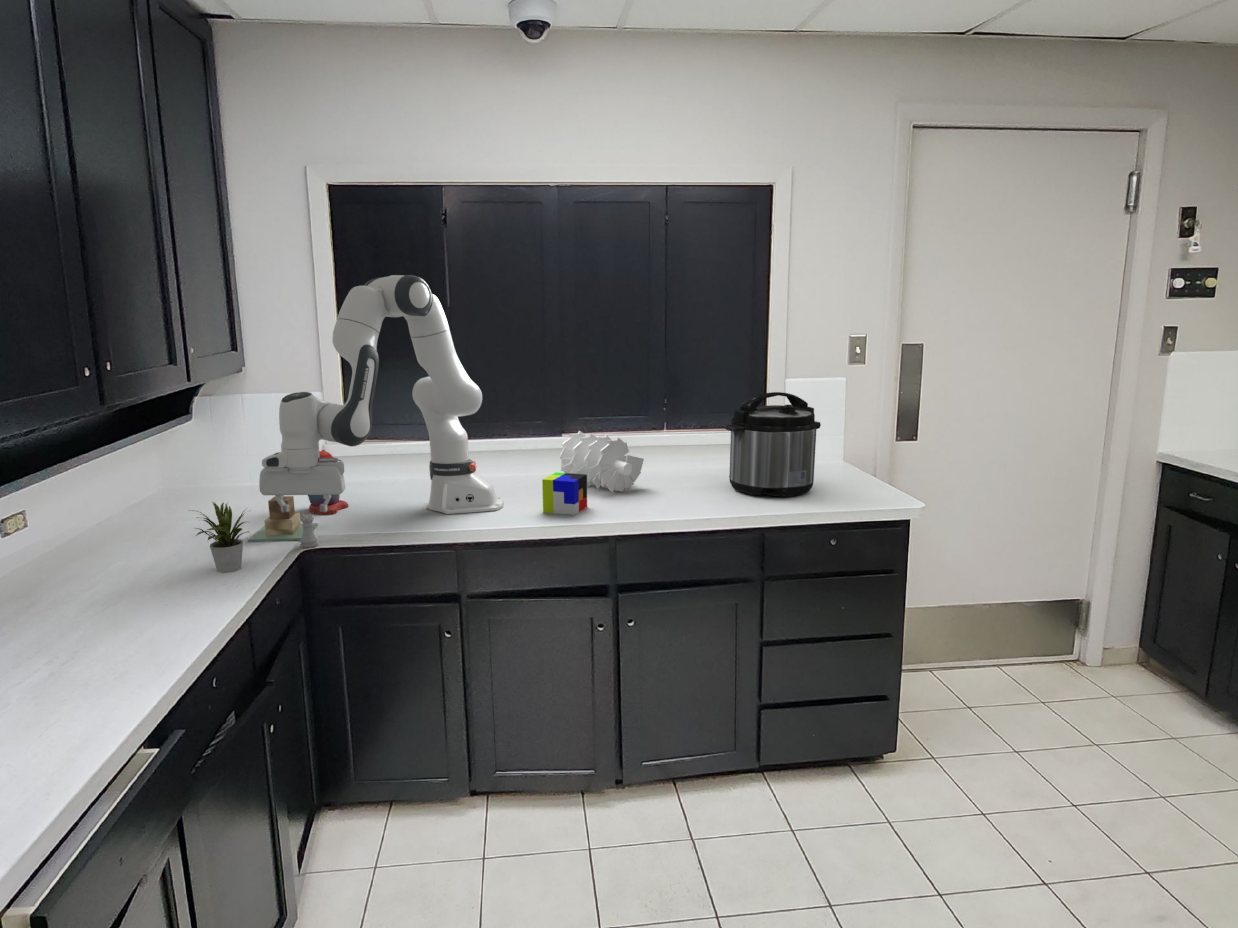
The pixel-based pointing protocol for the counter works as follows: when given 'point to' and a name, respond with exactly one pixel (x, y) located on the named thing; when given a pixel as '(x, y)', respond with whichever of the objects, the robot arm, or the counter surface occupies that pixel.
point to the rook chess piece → (308, 532)
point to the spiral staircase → (600, 461)
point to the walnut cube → (276, 508)
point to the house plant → (225, 540)
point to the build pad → (262, 536)
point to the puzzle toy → (564, 493)
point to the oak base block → (282, 525)
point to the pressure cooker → (773, 447)
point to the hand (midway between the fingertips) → (304, 511)
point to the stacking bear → (317, 500)
